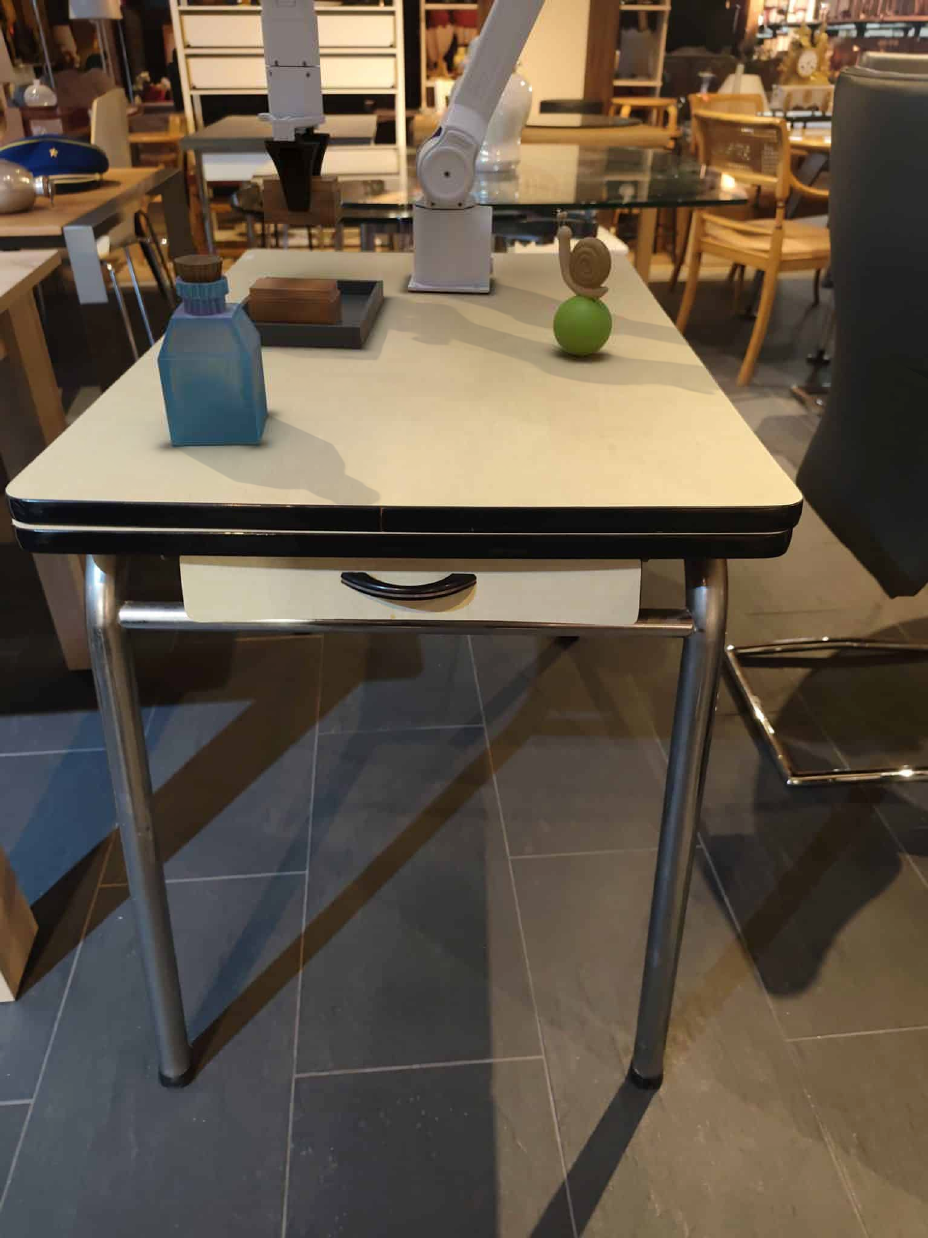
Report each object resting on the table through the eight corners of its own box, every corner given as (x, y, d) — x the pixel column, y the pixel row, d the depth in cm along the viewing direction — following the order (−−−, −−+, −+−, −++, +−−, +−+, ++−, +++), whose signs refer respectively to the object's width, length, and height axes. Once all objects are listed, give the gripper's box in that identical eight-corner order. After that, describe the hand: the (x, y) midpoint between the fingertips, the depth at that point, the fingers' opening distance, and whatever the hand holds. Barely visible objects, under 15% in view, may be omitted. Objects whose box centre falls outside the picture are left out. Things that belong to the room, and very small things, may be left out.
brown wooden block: (342, 326, 88) (339, 279, 86) (335, 339, 85) (332, 290, 82) (262, 324, 88) (257, 277, 86) (251, 336, 85) (246, 287, 82)
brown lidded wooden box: (342, 218, 103) (339, 175, 100) (335, 225, 99) (333, 180, 97) (273, 216, 103) (269, 173, 101) (264, 223, 99) (260, 178, 97)
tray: (383, 298, 100) (383, 280, 99) (361, 348, 84) (360, 326, 83) (267, 295, 100) (265, 276, 99) (223, 344, 84) (220, 322, 83)
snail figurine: (568, 340, 88) (579, 208, 81) (620, 355, 84) (636, 217, 77) (531, 351, 84) (539, 214, 78) (583, 366, 81) (597, 224, 74)
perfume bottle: (186, 414, 69) (161, 249, 62) (267, 413, 69) (250, 250, 62) (171, 445, 63) (141, 269, 57) (259, 444, 64) (239, 269, 57)
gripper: (271, 63, 99) (282, 196, 106) (237, 66, 87) (252, 217, 94) (333, 64, 99) (340, 198, 106) (308, 68, 87) (318, 218, 94)
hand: (303, 207), depth 100 cm, fingers closed on brown lidded wooden box, 4 cm apart
